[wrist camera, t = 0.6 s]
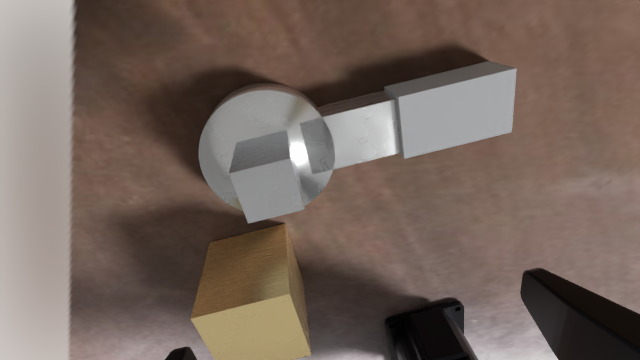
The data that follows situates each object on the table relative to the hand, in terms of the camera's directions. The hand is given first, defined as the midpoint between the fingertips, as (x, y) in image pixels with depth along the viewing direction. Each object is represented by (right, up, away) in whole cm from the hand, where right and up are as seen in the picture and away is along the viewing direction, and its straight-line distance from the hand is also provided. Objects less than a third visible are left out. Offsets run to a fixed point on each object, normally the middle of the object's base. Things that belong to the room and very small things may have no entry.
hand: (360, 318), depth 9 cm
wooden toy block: (-5, -2, +14) cm, 15 cm away
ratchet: (+1, +7, +10) cm, 12 cm away
